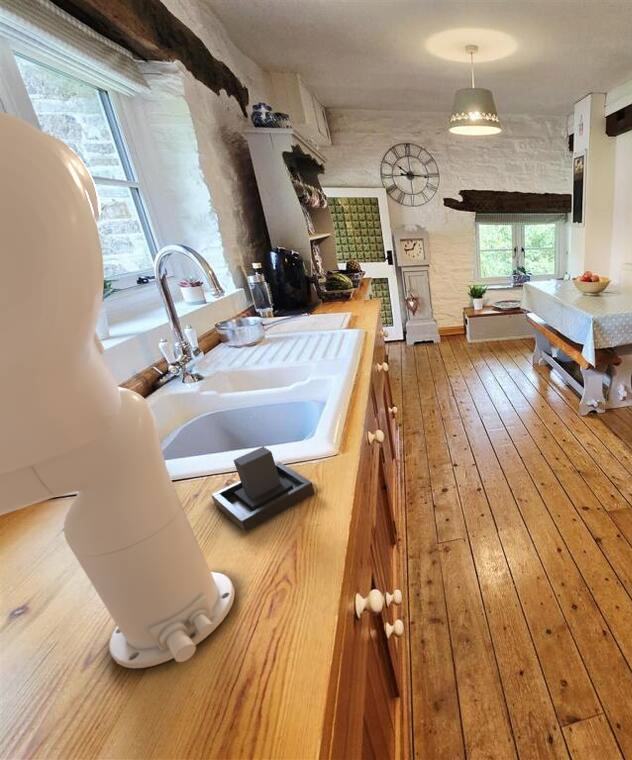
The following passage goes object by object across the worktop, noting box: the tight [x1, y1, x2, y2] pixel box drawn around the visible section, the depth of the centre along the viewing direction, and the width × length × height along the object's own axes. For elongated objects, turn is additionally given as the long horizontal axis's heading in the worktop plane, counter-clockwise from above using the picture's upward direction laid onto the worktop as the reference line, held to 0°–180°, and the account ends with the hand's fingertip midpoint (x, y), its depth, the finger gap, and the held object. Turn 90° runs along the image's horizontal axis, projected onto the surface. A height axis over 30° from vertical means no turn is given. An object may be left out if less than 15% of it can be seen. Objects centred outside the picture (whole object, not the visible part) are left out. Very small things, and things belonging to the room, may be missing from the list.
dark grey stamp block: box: [233, 446, 293, 511], centre depth 72 cm, size 7×7×8 cm
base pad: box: [210, 461, 315, 533], centre depth 73 cm, size 12×12×2 cm
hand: (91, 393), depth 59 cm, fingers open, 9 cm apart
